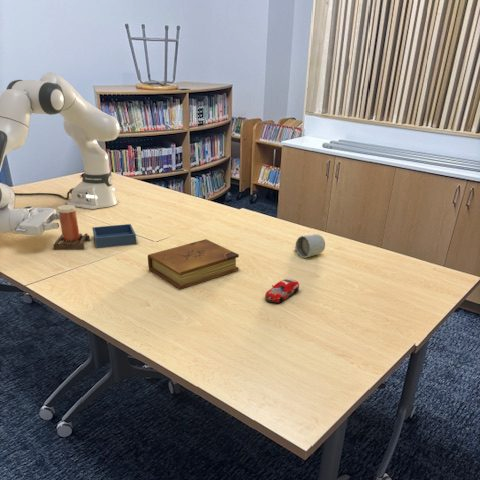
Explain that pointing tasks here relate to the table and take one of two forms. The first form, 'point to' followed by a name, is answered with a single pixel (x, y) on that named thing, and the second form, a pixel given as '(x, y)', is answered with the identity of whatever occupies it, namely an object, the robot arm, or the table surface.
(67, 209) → the cup
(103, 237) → the tray
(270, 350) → the table surface
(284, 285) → the race car
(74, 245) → the drying rack
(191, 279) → the diary
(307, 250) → the ceramic mug
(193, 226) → the table surface
